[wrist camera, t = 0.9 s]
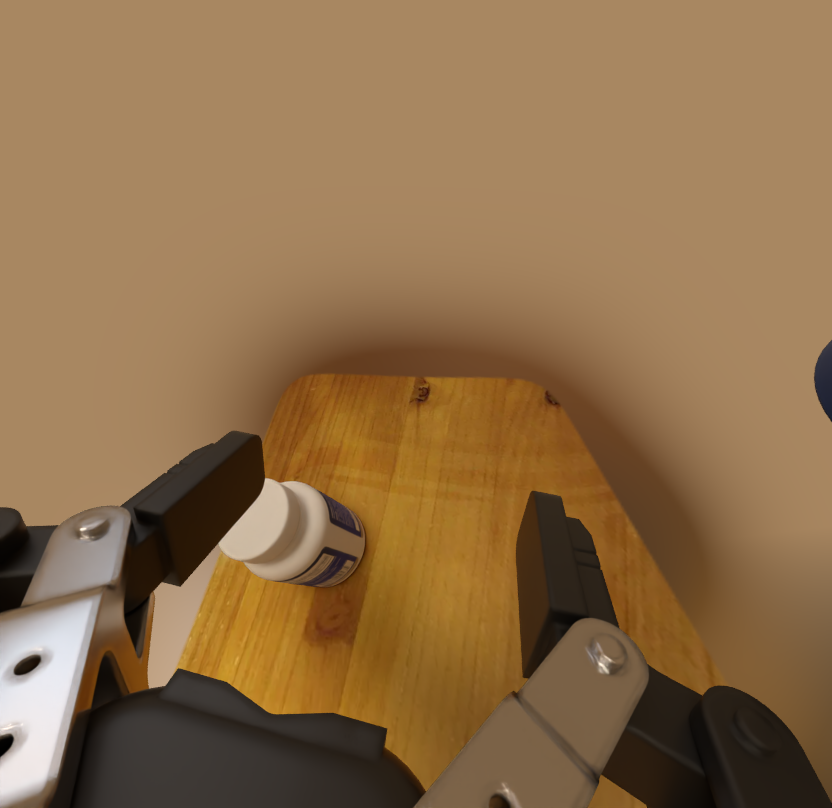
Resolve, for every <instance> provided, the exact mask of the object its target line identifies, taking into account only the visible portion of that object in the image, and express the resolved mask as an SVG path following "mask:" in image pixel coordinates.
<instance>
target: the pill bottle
mask: <svg viewBox="0 0 832 808" xmlns="http://www.w3.org/2000/svg"><path fill="white" fill-rule="evenodd" d="M218 545H219V547H220V549H221V550H222V551H223V553H224V554H225V555H227V556H228V557H230V558H232V559H234V560H238V561H242V562H244V564H245V565H246V566H247V568H248V569H249V570H250V571H251V572H252V573H254V574H255V575H257V576H259V577H261V578H263V579H266V580H270V581H276V582H283V583H290V584H298V585H306V586H314V587H330V586H333V585H336V584H338V583H340V582H342V581H344V580H345V579H346V578H348V577H349V576H350V575H351V574H352V573H353V571H354V570H355V569H356V567H357V566H358V564H359V562H360V560H361V558H362V555H363V552H364V547H365V533H364V529H363V526H362V523H361V521H360V519H359V518H358V517H357V515H356V514H355V513H354V512H353V511H351V510H350V509H348V508H347V507H345V506H344V505H342V504H340V503H338V502H337V501H335V500H333V499H332V498H330V497H328V496H327V495H325V494H323V493H322V492H320V491H318V490H317V489H315V488H313V487H311V486H309V485H307V484H304V483H301V482H295V481H289V482H283V483H279V482H277V481H274V480H272V479H267V478H265V482H264V486H263V489H262V492H261V494H260V495H259V497H258V498H257V499H256V501H255V502H254V503H253V504H252V505H251V506H250V507H249V509H248V510H247V511H246V512H245V513H244V514H243V515H242V517H241V518H240V519H239V520H238V521H237V522H236V523H235V525H234V526H233V527H232V528H231V529H230V530H229V531H228V533H227V534H226V535H225V536H224V537H223V538H222V540H221V541H220V542H219V543H218Z"/></svg>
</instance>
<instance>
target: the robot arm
mask: <svg viewBox="0 0 832 808" xmlns="http://www.w3.org/2000/svg"><path fill="white" fill-rule="evenodd" d="M264 482H265V472H264V461H263V450H262V441H261V438H260V437H259V436H258V435H253V434H249V433H244V432H239V431H231V432H229V433H228V434H227V435H225V436H224V437H223V438H221V439H220V440H219V441H218V442H216V443H215V444H213V443H212V444H209V445H207V446H205V447H202V448H200V449H198V450H195V451H193V452H192V453H191V454H189V455H188V456H187V457H185V458H184V459H183V460H181V461H180V462H179V464H176V465H175V466H173V467H172V468H170V469H169V470H168V472H167V473H164V474H162V475H161V476H160V477H158V478H157V479H156V480H155V481H153V482H152V483H151V484H149V485H148V486H147V487H145V488H144V489H142V490H141V491H140V492H139V493H137V494H136V495H135V496H133V497H132V498H130V499H129V500H128V501H126V502H125V503H124V504H122V505H121V506H120V507H119V506H101V507H96V508H92V509H88V510H85V511H83V512H80V513H78V514H76V515H74V516H72V517H70V518H69V519H67V520H65V521H64V522H63V523H61V524H60V525H56V526H26V525H25V523H24V521H23V519H22V517H21V515H20V513H19V512H18V511H17V510H15V509H12V508H3V507H2V508H1V507H0V808H587V807H588V805H589V803H590V801H591V799H592V797H593V795H594V793H595V791H596V789H597V786H598V784H599V778H600V775H603V776H604V777H606V778H607V779H609V780H610V781H612V782H613V783H615V784H616V785H618V786H619V787H621V788H622V789H624V790H625V791H627V792H628V793H630V794H631V795H633V796H634V797H636V798H637V799H638V800H640V801H641V802H643V803H644V804H646V805H647V808H832V803H831V801H830V799H829V797H828V795H827V793H826V792H825V790H824V788H823V786H822V784H821V782H820V781H819V779H818V777H817V775H816V773H815V771H814V769H813V767H812V765H811V764H810V762H809V760H808V758H807V756H806V754H805V752H804V750H803V749H802V747H801V746H800V744H799V742H798V740H797V739H796V737H795V736H794V735H793V733H792V732H791V731H790V730H789V728H788V727H787V726H786V725H785V724H784V723H783V722H782V720H781V719H780V718H779V717H777V715H776V714H775V713H773V712H772V711H771V710H770V709H769V708H767V707H766V706H765V705H764V704H762V703H761V702H760V701H758V700H757V699H755V698H753V697H752V696H750V695H749V694H747V693H745V692H743V691H741V690H738V689H735V688H732V687H728V686H714V687H711V688H709V689H708V690H707V691H706V692H705V694H704V695H703V696H702V695H700V694H698V693H697V692H695V691H693V690H691V689H689V688H687V687H685V686H683V685H682V684H680V683H678V682H676V681H674V680H672V679H670V678H669V677H667V676H665V675H663V674H661V673H660V672H658V671H656V670H655V669H654V668H652V667H651V666H649V665H648V664H647V663H646V660H645V658H644V656H643V654H642V652H641V651H640V649H639V648H638V646H637V645H636V644H635V643H634V641H633V640H632V639H631V638H630V637H629V636H628V635H627V634H625V633H624V632H623V631H622V630H620V628H619V625H618V622H617V619H616V615H615V612H614V609H613V605H612V602H611V599H610V595H609V592H608V589H607V586H606V582H605V579H604V576H603V572H602V570H600V567H601V566H600V562H599V559H598V556H597V555H596V549H595V546H594V543H593V539H592V536H591V534H590V533H589V532H588V530H587V529H586V528H585V527H584V525H583V524H582V523H581V521H580V520H579V519H575V518H570V517H566V514H565V510H564V506H563V502H562V498H561V497H560V496H557V495H552V494H547V493H542V492H537V491H532V492H531V493H530V496H529V499H528V502H527V505H526V509H525V512H524V516H523V519H522V522H521V526H520V529H519V533H518V537H517V544H516V566H517V583H518V600H519V618H520V635H521V653H522V670H523V677H524V678H528V681H527V682H526V683H525V684H524V686H523V687H522V688H521V689H520V690H519V691H518V692H517V693H515V692H514V691H513V692H511V693H510V694H508V695H507V696H506V697H505V698H504V699H503V700H502V702H501V703H500V704H499V705H498V706H497V708H496V709H495V710H494V711H493V712H492V714H491V715H490V716H489V717H488V718H487V720H486V721H485V722H484V723H483V724H482V726H481V727H480V728H479V729H478V730H477V732H476V733H475V734H474V735H473V736H472V738H471V739H470V740H469V741H468V742H467V744H466V745H465V746H464V747H463V748H462V750H461V751H460V752H459V753H458V754H457V756H456V757H455V758H454V759H453V760H452V762H451V763H450V764H449V765H448V766H447V768H446V769H445V770H444V771H443V772H442V774H441V775H440V776H439V777H438V778H437V780H436V781H435V782H434V783H433V784H432V786H431V787H430V788H429V789H428V790H427V792H426V791H425V789H424V788H423V786H422V785H421V783H420V781H419V780H418V779H417V777H416V776H415V775H414V774H413V772H412V771H411V770H410V769H409V768H408V766H406V765H405V764H404V763H403V762H402V761H401V760H400V759H399V758H398V757H397V756H396V755H394V754H393V753H392V752H390V751H389V750H388V749H386V748H385V742H386V734H387V728H383V727H380V726H376V725H373V724H370V723H366V722H363V721H359V720H356V719H352V718H349V717H345V716H342V715H338V714H335V713H314V714H279V715H277V714H271V713H268V712H267V711H265V710H264V709H262V708H261V707H260V706H258V705H257V704H256V703H254V702H253V701H252V700H250V699H249V698H248V697H246V696H245V695H243V694H242V693H241V692H239V691H238V690H237V689H235V688H234V687H233V686H231V685H230V684H229V683H227V682H224V681H221V680H217V679H214V678H210V677H207V676H203V675H200V674H197V673H193V672H190V671H186V670H183V669H179V668H178V669H177V671H176V672H175V673H174V675H173V676H172V678H171V679H170V680H169V682H168V683H167V685H166V686H162V687H157V688H151V689H149V686H148V675H147V671H148V669H147V668H148V658H149V648H150V640H151V631H152V622H153V612H154V604H155V595H154V592H153V591H154V590H155V589H156V588H157V587H158V585H159V584H160V583H161V582H164V583H168V584H172V585H176V586H181V585H182V584H183V583H184V582H185V581H186V580H187V579H188V577H189V576H190V575H191V574H192V573H193V571H194V570H195V569H196V568H197V567H198V566H199V565H200V564H201V562H202V561H203V560H204V559H205V558H206V557H207V556H208V554H209V553H210V552H211V551H212V550H213V549H214V548H215V546H216V545H217V544H218V543H219V542H220V541H221V540H222V538H223V537H224V536H225V535H226V534H227V533H228V531H229V530H230V529H231V528H232V527H233V526H234V525H235V523H236V522H237V521H238V520H239V519H240V518H241V517H242V515H243V514H244V513H245V512H246V511H247V510H248V509H249V507H250V506H251V505H252V504H253V503H254V502H255V501H256V499H257V498H258V497H259V495H260V494H261V492H262V489H263V486H264Z"/></svg>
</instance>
